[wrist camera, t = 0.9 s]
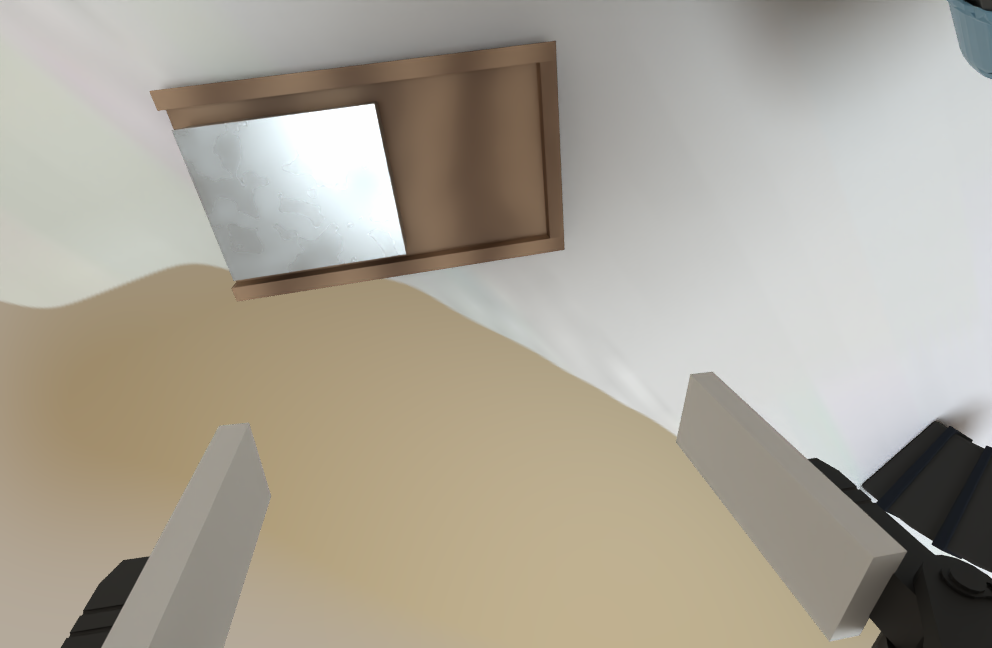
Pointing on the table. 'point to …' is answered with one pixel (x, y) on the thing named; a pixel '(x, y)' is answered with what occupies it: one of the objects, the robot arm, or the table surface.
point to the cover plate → (296, 189)
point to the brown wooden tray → (426, 153)
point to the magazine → (942, 492)
